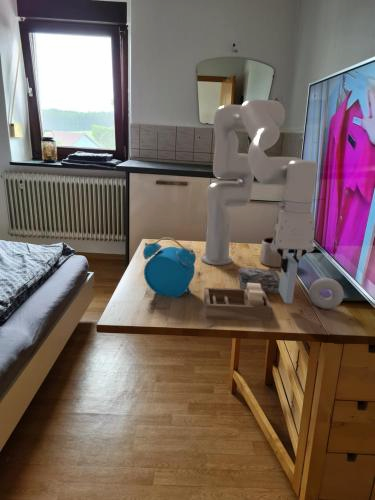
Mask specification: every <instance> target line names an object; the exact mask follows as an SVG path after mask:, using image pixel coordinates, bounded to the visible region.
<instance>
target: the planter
mask: <svg viewBox="0 0 375 500" xmlns="http://www.w3.org/2000/svg"><path fill="white" fill-rule="evenodd" d="M273 238H274V236H272V237H271V236H270V237H264V238H262V241H261V249H260V256H259V262H260V263H261V264H262V265H263V266H266V267H269V268H277V269H278V268H281V258H282V256H281V255H280V254H279V253H278V252H276V251H273V250H271V249H270V245H271V243H272V241H273ZM289 251H290V249H288V253H289Z"/></svg>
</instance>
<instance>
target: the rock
mask: <svg viewBox="0 0 375 500" xmlns="http://www.w3.org/2000/svg"><path fill="white" fill-rule="evenodd" d="M237 272H238V274H239V275H238V280H239V281H238V283H239V284H238V285H239V286H238V287H239V289H247V283H260V285H261V288H262V290H264V292H265V294H267V293H268V294H275V295H277V294H280V293H279V291H278V290H279V282H280V276H279V274H278V272H277V270H276V269H274V268H273V267H269V268H268V269H267V270H266V269H264V268H263V269H262V268H258V267H240V268H238V269H237Z"/></svg>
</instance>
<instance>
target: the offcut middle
mask: <svg viewBox="0 0 375 500" xmlns="http://www.w3.org/2000/svg"><path fill="white" fill-rule="evenodd" d="M244 298H245V300H246V303H247V305H256V306H264V300H263V298H262V301H257V300H248V295H247V290H245V291H244Z"/></svg>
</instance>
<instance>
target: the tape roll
mask: <svg viewBox="0 0 375 500" xmlns="http://www.w3.org/2000/svg"><path fill="white" fill-rule="evenodd" d="M322 290H329V291H330V292H331V295H330V296H329V297H324V296H322V295H321V292H322ZM344 293H345V292H344V289H343V287H342V285H341V284H340V283H339V282H338V281H336V280H335V279H332V278H330V277H321V278H318V279H316V280H315V281H313V282H312V284H311V285H310V287H309V289H308V296H309V298H310V299H309V300H310V301H311V302H312V303H313V305H315V306H316V307H318V308H320V309H323V310H325V309H327V310H330V309H333V308H335V307H338V306H339V305H340V304H341V302H342V301H343V299H344Z"/></svg>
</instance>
